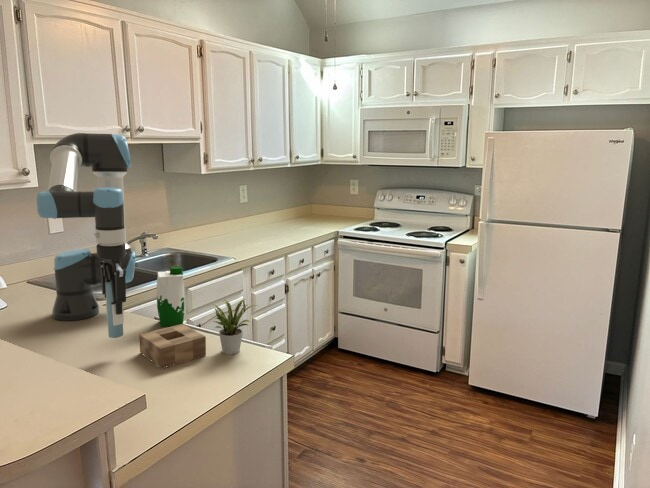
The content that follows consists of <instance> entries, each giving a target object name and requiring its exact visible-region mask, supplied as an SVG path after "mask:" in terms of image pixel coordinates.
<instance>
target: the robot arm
mask: <svg viewBox="0 0 650 488" xmlns="http://www.w3.org/2000/svg"><path fill="white" fill-rule="evenodd" d="M49 162H50V163H51V170H50V175H49V181H48V185H47V186H48V187H47V190H45V191H40V192H38V193H37V194H36V211H37V214H38V216H39V217H40V218H42V219H54V220H56V219H72V218H73V219H76V218H94V221H95V222H94V223H95V224H94V225H95V226H94V227H95V228H94V229H95V232H94V233H93V236H94V237H95V241H96V243H97V244H96V252H92V251H91V250H90V249H89V248H88V249H87V248H79V249H72V250H67V251H64V252H61V253H59V254H57V255H56V256H55V257H54V261H53V262H54V267H53V270H54V277H55V290H56V296H55V300H54V303H53V307H52V310H51V312H52V318H53V319H54V320H57V321H64V322H65V321H66V322H71V321H73V322H74V321H80V320H85V319H88V318H92V317H95V316H97V315H98V314H100V305H99V303H98V301H97V298H96V297H95V294H94V292H93V286H100V285H101V293H102V295H104V298H105V299H106V284H105V283H106V282H110V281H111V287H112V295H113V302H111V305H112V313H113V325H114V326H115V325H119V324H123V325H124V324H125V323H124V322H125V320H124V319H125V318H124V305H123V304H124V303H126V302H127V292H126V291H127V289H126V286H127V285H126V283H130V282H132V281H133V279H134V276H135V267H136V251H134V250H132V247H131V245H130V244H129V243H127V228H126V209H125V206H126V204H125V189H124V177H125V176H126V175H127V174H128V169H129V168H131V167H132V162H131V155H130V150H129V145H128V140H127V137H125V136H124V135H122V134H116V133H115V134H114V133H85V132H76V133H72V134H71V133H70V134H68V135H67V136H65V137H63V138H61V139H59V140H58V141H57V142H56V143H55V144H54V145H53V147H52V148H51V150H50V154H49ZM81 167H82V168H91V172H92V174H93V175H94V176H96V177H97V178H96V180H97V187H96V188H94V189H93V191H92V190H91V191H82V190H81V191H77V190H78V189H77V188H78V176H79V169H80V168H81ZM105 308H106V311H107V301H106V300H105ZM106 321H107V322H108V318H107V317H106Z"/></svg>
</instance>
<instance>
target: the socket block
mask: <svg viewBox="0 0 650 488" xmlns="http://www.w3.org/2000/svg"><path fill="white" fill-rule="evenodd" d="M138 337H139V338H138V340H139V353H140V352H141V353H142V354H144V355H145V356H146V357H148V358H149V359H150V360H152V361H153V362H154V363H155V364H157V365H158V366H159V367H161V368H163V369H165V368H164V367H166V366H169V367H171V366H170V365H173V364H176V365H179V364H182V363H181V362H183V363H185V361H186V362H189V361H192V359H193V360H195V358H196V359H199V358H198V357H200V358H203V357H206V356H207V348H206V347H207V345H206V344H207V343H206V342H207V341H206V340H207V337H206V336H205V335H204V334H202V333H200V332H198V331H197V330H194V329H193V328H192V327H189V326H187V325H186V324H184V323H183V324H180V325H176V326H170V327H162V328H160V329H156V330H152V331H146V332H143V333H139V334H138ZM141 353H140V354H141ZM142 354H141V355H142ZM205 355H206V356H205ZM145 356H144V357H145ZM202 356H203V357H202ZM146 357H145V358H146ZM149 359H148V360H149ZM150 360H149V361H150ZM188 360H189V361H188ZM153 362H152V363H153ZM154 363H153V364H154ZM178 363H179V364H178ZM155 364H154V365H155ZM157 365H156V366H157ZM158 366H157V367H158ZM173 366H174V365H173ZM159 367H158V368H159ZM161 368H160V369H161ZM166 368H167V367H166Z"/></svg>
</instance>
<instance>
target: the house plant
mask: <svg viewBox="0 0 650 488" xmlns="http://www.w3.org/2000/svg"><path fill="white" fill-rule="evenodd" d="M223 300H224V304H225V305H226V308H227V312H228V314H227V316H226V315H225V313H224V311H223V310H222V308H220V306H217V305H216V304H214V303H212V305H213V306H214V307H215V308H214V310H215V311H214V312H215V316H216V318H215V321H214V320H213V321H212V323H216V324H218V325H217V326H215V327H214V329H220V330H219V332H218V333H219V339H220V344H221V350H222V353H223V354H226V355H234V354H235V355H236V354H238V353H239V352H240V350H241V345H242V338H243V329H242V328H239V327H244V326H249V324H247V322H249V323H251V321H250V320H249V319H244V320H242V321H240V319H241V318H242V316H243V315H244V313H246V311H247V310H248V309H250V308H252V307H257V306H259V305H258V304H253V305H250V306H248V305H249V304H245V305H244V304H243V302H244V301H245V300H246V298H243V299H242V300H240V301H239V302H238V304H237V305H236V307H235V310H234V313H233V310H232V306H231V303H230V302H229V301H227V299H225V298H224V299H223ZM242 306H243V307H242ZM240 307H242V308H241V310H240V311H239V309H240ZM217 320H218V321H217ZM239 321H240V322H239ZM219 325H220V326H219ZM249 327H250V326H249Z"/></svg>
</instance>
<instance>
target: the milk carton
mask: <svg viewBox="0 0 650 488" xmlns="http://www.w3.org/2000/svg"><path fill="white" fill-rule="evenodd" d="M156 306H157V308H156V309H157V314H158V318H159V321H160V325H161V328H167V326H170V327H171V326H176V325H180V324H184V320H185V319H184V317H185V283H184V272H183V267H182V266H179V265H178V266H177V265H176V266H175V265H173V266H171V267H170V268H169V270H166V271H157V278H156Z"/></svg>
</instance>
